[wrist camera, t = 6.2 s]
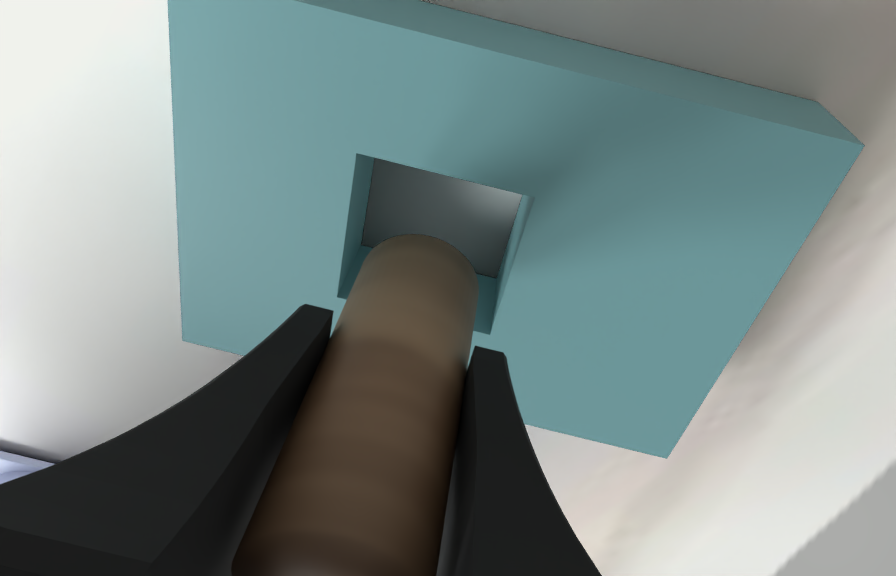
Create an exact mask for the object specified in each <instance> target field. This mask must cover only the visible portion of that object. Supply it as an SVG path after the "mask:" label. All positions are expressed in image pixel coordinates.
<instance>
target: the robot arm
mask: <svg viewBox="0 0 896 576" xmlns="http://www.w3.org/2000/svg"><path fill="white" fill-rule="evenodd" d="M333 312H334V311H333V310H329V309H325V308H321V307H317V306H313V305H309V304H304V305H302V306H300V307H299V308H298V309H297V310H296V311H295V312H294V313H293V314H292V315H291V316H290V317H288V318H287V319H286V320H285V321H284V322H283V323H282V324H281V325H280V326H279V327H278V328H277V329H276V330H274V331H273V332H272V333H271V334H270V335H269V336H268V337H267V338H265V339H264V340H263V341H262V342H261V343H259V344H258V345H257V346H256V347H255V348H253V349H252V350H251V351H250V352H249V353H247V354H246V355H245V356H244V357H242V358H241V359H240V360H239V361H237V362H236V363H235V364H234V365H232V366H231V367H229V368H228V369H227V370H225V371H224V372H223V373H221V374H220V375H219V376H217V377H216V378H214V379H213V380H212V381H210V382H209V383H208V384H206V385H205V386H203V387H202V388H200V389H199V390H197V391H196V392H194V393H193V394H191V395H190V396H188V397H187V398H185V399H183V400H182V401H180V402H179V403H177V404H175V405H174V406H172V407H170V408H169V409H167V410H165V411H164V412H162V413H160V414H159V415H157V416H155V417H153V418H151V419H149V420H148V421H146V422H144V423H142V424H140V425H138V426H137V427H135V428H133V429H131V430H129V431H127V432H125V433H123V434H121V435H119V436H117V437H115V438H113V439H111V440H109V441H107V442H105V443H102V444H100V445H98V446H96V447H93V448H91V449H89V450H87V451H85V452H82V453H80V454H78V455H76V456H73V457H71V458H69V459H67V460H64V461H62V462H59V463H57V464H54V463H49V462H45V461H41V460H37V459H33V458H29V457H24V456H20V455H16V454H12V453H8V452H3V451H0V576H232V574H231V565H232V561H233V558H234V556H235V553H236V551H237V549H238V547H239V544H240V542H241V540H242V537H243V535H244V533H245V531H246V528H247V526H248V524H249V521H250V519H251V517H252V515H253V512H254V510H255V508H256V506H257V503H258V501H259V499H260V496H261V494H262V492H263V490H264V487H265V485H266V483H267V480H268V478H269V476H270V474H271V471H272V469H273V467H274V465H275V462H276V460H277V458H278V455H279V453H280V451H281V449H282V446H283V444H284V442H285V439H286V437H287V435H288V433H289V430H290V428H291V426H292V424H293V421H294V419H295V417H296V414H297V412H298V410H299V408H300V405H301V403H302V401H303V398H304V396H305V394H306V392H307V389H308V387H309V385H310V383H311V380H312V378H313V376H314V373H315V371H316V369H317V367H318V364H319V362H320V360H321V357H322V355H323V353H324V351H325V348H326V346H327V344H328V341H329V339H330V334H331V327H332V319H333ZM436 576H602V575H601V574H600V572H599V571H598V569H597V568H596V566H595V565H594V563H593V561H592V560H591V558H590V557H589V555H588V554H587V552H586V551H585V549H584V547H583V546H582V544H581V543H580V541H579V540H578V538H577V537H576V535H575V533H574V531H573V530H572V528H571V526H570V524H569V523H568V521H567V519H566V517H565V515H564V514H563V512H562V510H561V508H560V506H559V504H558V502H557V500H556V498H555V496H554V494H553V492H552V490H551V488H550V486H549V484H548V482H547V480H546V478H545V475H544V473H543V471H542V469H541V466H540V464H539V462H538V459H537V457H536V454H535V452H534V449H533V447H532V444H531V442H530V439H529V436H528V433H527V431H526V428H525V425H524V422H523V419H522V416H521V413H520V410H519V407H518V404H517V400H516V397H515V393H514V389H513V386H512V382H511V377H510V373H509V368H508V363H507V357H506V356H505V354H504V353H503V352H500V351H496V350H492V349H488V348H483V347H479V346H474V350H473V353H472V356H471V359H470V362H469V366H468V369H467V373H466V379H465V386H464V393H463V399H462V406H461V415H460V422H459V428H458V435H457V442H456V448H455V455H454V462H453V468H452V475H451V482H450V488H449V495H448V501H447V508H446V515H445V521H444V528H443V535H442V541H441V548H440V555H439V561H438V568H437V575H436Z"/></svg>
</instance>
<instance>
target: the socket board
mask: <svg viewBox="0 0 896 576" xmlns="http://www.w3.org/2000/svg"><path fill="white" fill-rule="evenodd" d="M168 18H169V42H170V65H171V88H172V111H173V134H174V157H175V180H176V203H177V226H178V250H179V273H180V296H181V319H182V341H186V342H190V343H194V344H198V345H202V346H206V347H210V348H215V349H219V350H223V351H227V352H231V353H235V354H239V355H243V356H245V355H246V354H247V353H249V352H250V351H251V350H252V349H253V348H255V347H256V346H257V345H258V344H259V343H261V342H262V341H263V340H264V339H265V338H267V337H268V336H269V335H270V334H271V333H272V332H273V331H274V330H276V329H277V328H278V327H279V326H280V325H281V324H282V323H283V322H284V321H285V320H286V319H287V318H288V317H290V316H291V315H292V314H293V313H294V312H295V311H296V310H297V309H298V308H299V307H300V306H302V305H304V304H309V305H313V306H317V307H321V308H325V309H329V310H333V311H334V312H333V319H332V327H331V334H330V337H331V335H332V332H333V330H334V328H335V326H336V323H337V321H338V319H339V316H340V314H341V312H342V310H343V307H344V305H345V303H346V300H347V298H348V296H349V294H350V291H351V289H352V287H353V285H354V282H355V280H356V278H357V275H358V273H359V271H360V269H361V266H362V264H363V262H364V260H365V258H366V256H367V255H368V254H369V252H370V251H371V250H372V249H373V248H371V247H367V246H363V245H361V242H362V236H363V229H364V223H365V216H366V210H367V203H368V197H369V190H370V184H371V177H372V171H373V164H374V158H378V159H382V160H386V161H390V162H394V163H398V164H402V165H406V166H410V167H414V168H418V169H422V170H426V171H430V172H434V173H438V174H442V175H446V176H450V177H454V178H458V179H462V180H466V181H470V182H474V183H478V184H482V185H486V186H490V187H494V188H498V189H502V190H506V191H510V192H514V193H518V194H522V198H521V201H520V205H519V208H518V211H517V214H516V217H515V221H514V224H513V227H512V230H511V233H510V237H509V240H508V243H507V246H506V249H505V253H504V256H503V259H502V262H501V265H500V269H499V272H498V275H497V278H492V277H488V276H484V275H480V274H476V275H477V279H478V285H479V295H478V302H477V309H476V315H475V322H474V329H473V335H472V342H471V349H470V355H469V362H470V359H471V356H472V353H473V350H474V346H479V347H483V348H488V349H492V350H496V351H500V352H503V353H504V354H505V356H506V357H507V363H508V368H509V373H510V377H511V382H512V386H513V389H514V393H515V397H516V400H517V404H518V407H519V410H520V413H521V416H522V419H523V422H524V424H527V425H531V426H535V427H539V428H543V429H547V430H551V431H555V432H559V433H564V434H568V435H572V436H576V437H580V438H584V439H588V440H592V441H596V442H601V443H605V444H609V445H613V446H617V447H621V448H625V449H629V450H633V451H637V452H642V453H646V454H650V455H654V456H658V457H662V458H666V459H667V458H668V456H669V455H670V453H671V452H672V450H673V448H674V447H675V445H676V444H677V442H678V440H679V439H680V437H681V436H682V434H683V433H684V431H685V429H686V428H687V426H688V425H689V423H690V421H691V420H692V418H693V417H694V415H695V414H696V412H697V410H698V409H699V407H700V406H701V404H702V402H703V401H704V399H705V398H706V396H707V394H708V393H709V391H710V390H711V388H712V387H713V385H714V383H715V382H716V380H717V379H718V377H719V375H720V374H721V372H722V371H723V369H724V368H725V366H726V364H727V363H728V361H729V360H730V358H731V356H732V355H733V353H734V352H735V350H736V349H737V347H738V345H739V344H740V342H741V341H742V339H743V337H744V336H745V334H746V333H747V331H748V330H749V328H750V326H751V325H752V323H753V322H754V320H755V318H756V317H757V315H758V314H759V312H760V311H761V309H762V307H763V306H764V304H765V303H766V301H767V299H768V298H769V296H770V295H771V293H772V292H773V290H774V288H775V287H776V285H777V284H778V282H779V280H780V279H781V277H782V276H783V274H784V273H785V271H786V269H787V268H788V266H789V265H790V263H791V261H792V260H793V258H794V257H795V255H796V254H797V252H798V250H799V249H800V247H801V246H802V244H803V242H804V241H805V239H806V238H807V236H808V235H809V233H810V231H811V230H812V228H813V227H814V225H815V223H816V222H817V220H818V219H819V217H820V216H821V214H822V212H823V211H824V209H825V208H826V206H827V204H828V203H829V201H830V200H831V198H832V197H833V195H834V193H835V192H836V190H837V189H838V187H839V185H840V184H841V182H842V181H843V179H844V178H845V176H846V174H847V173H848V171H849V170H850V168H851V166H852V165H853V163H854V162H855V160H856V158H857V157H858V155H859V154H860V152H861V151H862V149H863V147H864V146H865V145H864V144H863V143H861V142H860V141H859V140H858V139H857V138H856V137H855V136H854V135H853V134H852V133H851V132H850V131H849V130H847V129H846V128H845V127H844V126H843V125H842V124H841V123H840V122H839V121H838V120H837V119H836V118H835V117H833V116H832V115H831V114H830V113H829V112H828V111H827V110H826V109H825V108H824V107H823V106H822V105H821V104H819V103H818V102H816V101H812V100H808V99H804V98H800V97H796V96H792V95H788V94H784V93H780V92H776V91H772V90H769V89H765V88H761V87H757V86H753V85H749V84H745V83H741V82H737V81H733V80H729V79H725V78H722V77H718V76H714V75H710V74H706V73H702V72H698V71H694V70H690V69H686V68H682V67H678V66H675V65H671V64H667V63H663V62H659V61H655V60H651V59H647V58H643V57H639V56H635V55H631V54H627V53H624V52H620V51H616V50H612V49H608V48H604V47H600V46H596V45H592V44H588V43H584V42H580V41H577V40H573V39H569V38H565V37H561V36H557V35H553V34H549V33H545V32H541V31H537V30H533V29H530V28H526V27H522V26H518V25H514V24H510V23H506V22H502V21H498V20H494V19H490V18H486V17H483V16H479V15H475V14H471V13H467V12H463V11H459V10H455V9H451V8H447V7H443V6H439V5H435V4H432V3H428V2H424V1H420V0H168ZM469 362H468V366H469Z"/></svg>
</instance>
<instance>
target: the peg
mask: <svg viewBox="0 0 896 576" xmlns="http://www.w3.org/2000/svg"><path fill="white" fill-rule="evenodd" d="M478 295H479V285H478V279H477V275H476V273H475V271H474V268H473V267H472V265H471V264H470V262H469V261H468V260H467V258H466V257H465V256H464V255H463V254H462V253H461V252H460V251H459V250H457V249H456V248H455V247H453V246H452V245H450V244H448V243H447V242H445V241H442V240H440V239H437V238H434V237H431V236H426V235H419V234H406V235H400V236H395V237H392V238H389V239H387V240H385V241H383V242H381V243H380V244H378V245H377V246H376V247H374V248H373V249H372V250H371V251H370V252H369V254H368V255H367V256H366V258H365V260H364V262H363V264H362V266H361V269H360V271H359V273H358V275H357V278H356V280H355V282H354V285H353V287H352V289H351V291H350V294H349V296H348V298H347V300H346V303H345V305H344V307H343V310H342V312H341V314H340V316H339V319H338V321H337V323H336V326H335V328H334V330H333V332H332V335H331V337H330V339H329V341H328V344H327V346H326V348H325V351H324V353H323V355H322V357H321V360H320V362H319V364H318V367H317V369H316V371H315V373H314V376H313V378H312V380H311V383H310V385H309V387H308V389H307V392H306V394H305V396H304V398H303V401H302V403H301V405H300V408H299V410H298V412H297V414H296V417H295V419H294V421H293V424H292V426H291V428H290V430H289V433H288V435H287V437H286V439H285V442H284V444H283V446H282V449H281V451H280V453H279V455H278V458H277V460H276V462H275V465H274V467H273V469H272V471H271V474H270V476H269V478H268V480H267V483H266V485H265V487H264V490H263V492H262V494H261V496H260V499H259V501H258V503H257V506H256V508H255V510H254V512H253V515H252V517H251V519H250V521H249V524H248V526H247V528H246V531H245V533H244V535H243V537H242V540H241V542H240V544H239V547H238V549H237V551H236V553H235V556H234V558H233V561H232V565H231V574H232V576H436V575H437V568H438V561H439V555H440V548H441V541H442V535H443V528H444V521H445V515H446V508H447V501H448V495H449V488H450V482H451V475H452V468H453V462H454V455H455V448H456V442H457V435H458V428H459V422H460V415H461V406H462V399H463V393H464V386H465V379H466V373H467V369H468V362H469V355H470V349H471V342H472V335H473V329H474V322H475V315H476V309H477V302H478Z"/></svg>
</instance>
